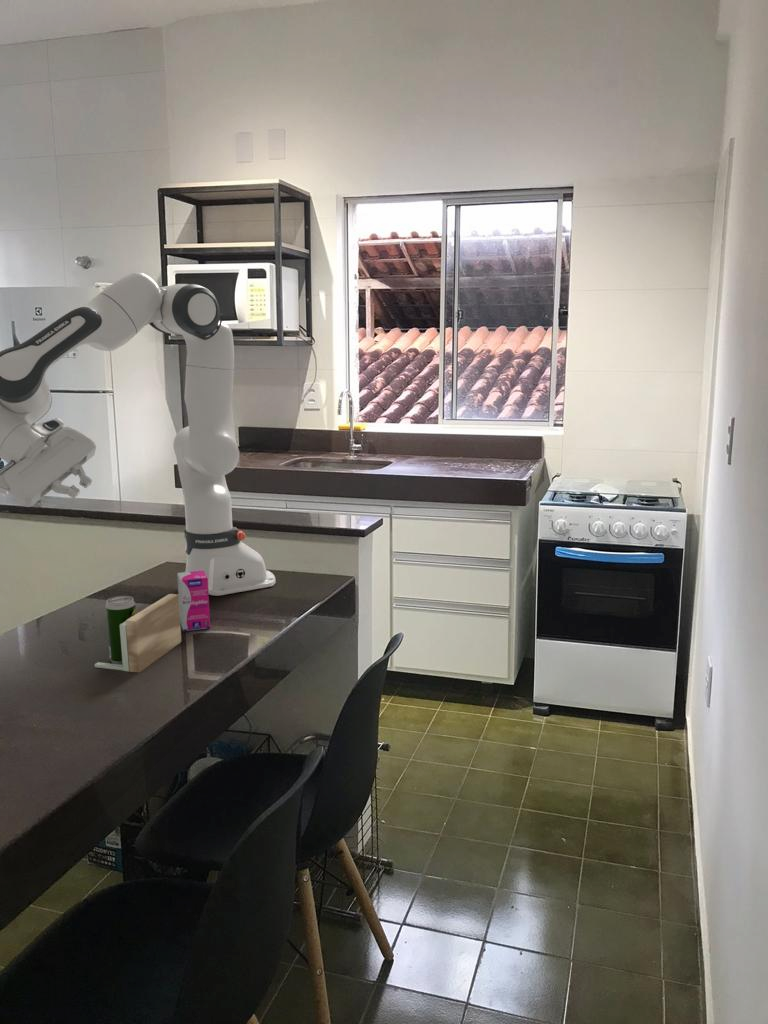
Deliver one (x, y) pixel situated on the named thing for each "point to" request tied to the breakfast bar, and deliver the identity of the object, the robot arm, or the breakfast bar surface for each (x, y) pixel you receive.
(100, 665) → the white legged plate
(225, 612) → the breakfast bar surface
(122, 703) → the breakfast bar surface
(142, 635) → the oak board
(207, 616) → the supplement box
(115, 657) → the beer can
